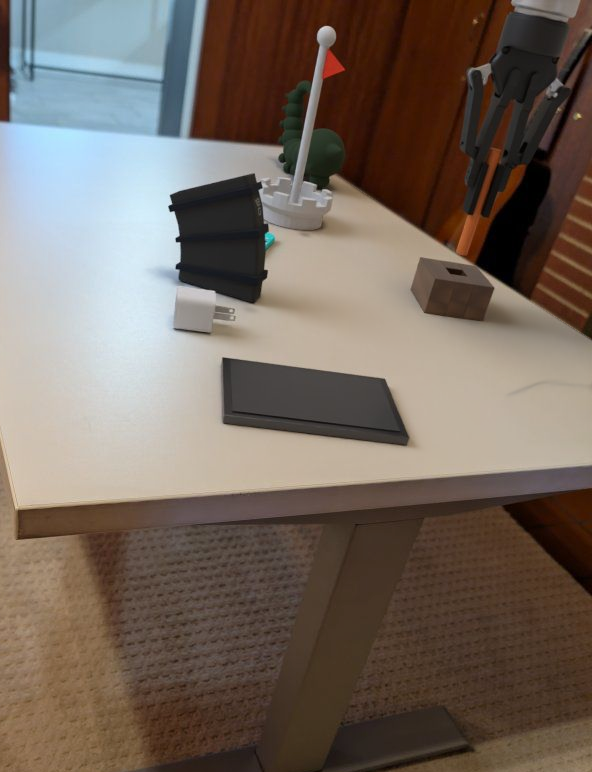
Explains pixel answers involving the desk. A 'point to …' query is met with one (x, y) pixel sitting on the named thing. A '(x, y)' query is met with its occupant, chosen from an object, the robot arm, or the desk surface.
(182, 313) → the usb wall charger
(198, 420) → the desk surface
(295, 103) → the toy figurine
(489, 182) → the orange rod
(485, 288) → the pen stand
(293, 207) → the flag stand
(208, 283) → the magazine
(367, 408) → the tablet
